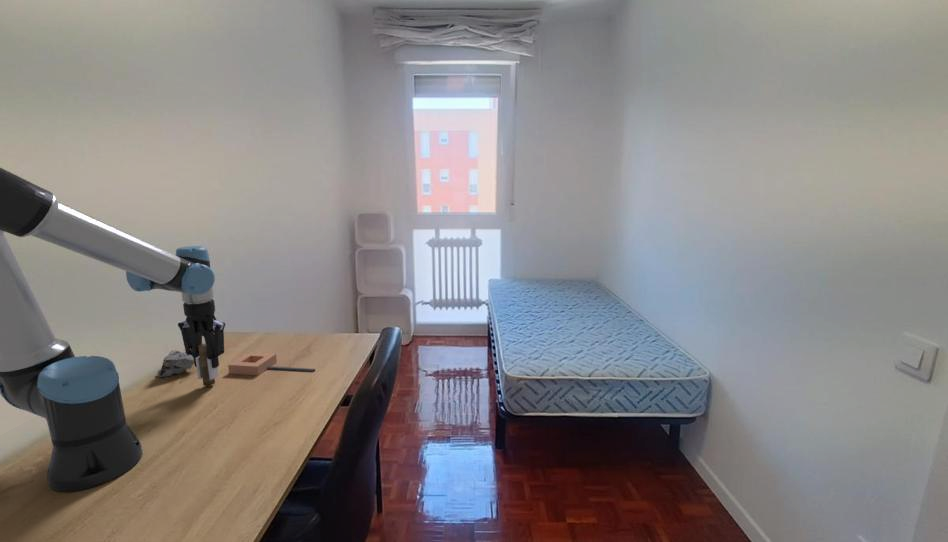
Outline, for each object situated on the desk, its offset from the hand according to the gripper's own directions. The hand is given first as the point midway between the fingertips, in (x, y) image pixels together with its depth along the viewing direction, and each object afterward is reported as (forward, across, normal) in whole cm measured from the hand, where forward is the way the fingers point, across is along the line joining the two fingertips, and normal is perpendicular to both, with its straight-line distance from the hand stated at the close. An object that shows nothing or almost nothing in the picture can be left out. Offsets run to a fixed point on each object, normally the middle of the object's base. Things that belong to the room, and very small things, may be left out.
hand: (208, 377), depth 126 cm
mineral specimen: (+3, +16, -7) cm, 18 cm away
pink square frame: (+3, -5, -13) cm, 15 cm away
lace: (+3, -18, -13) cm, 23 cm away
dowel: (+2, 0, 0) cm, 2 cm away
